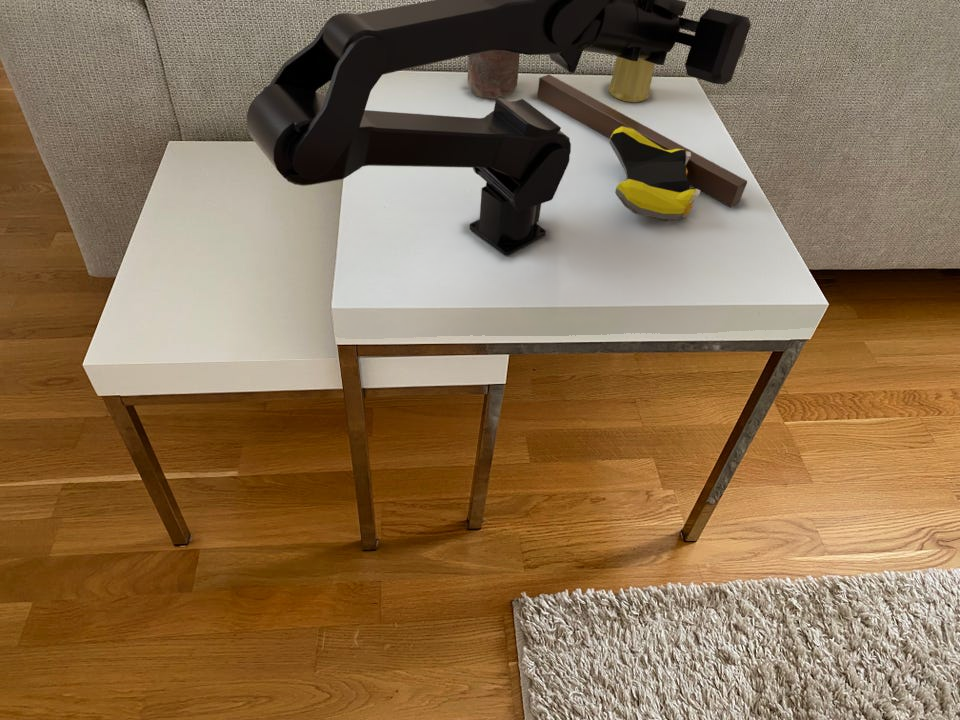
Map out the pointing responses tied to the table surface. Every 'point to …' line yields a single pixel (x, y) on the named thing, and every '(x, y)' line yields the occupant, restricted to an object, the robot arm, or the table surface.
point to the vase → (631, 80)
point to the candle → (493, 73)
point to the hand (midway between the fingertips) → (709, 40)
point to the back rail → (607, 120)
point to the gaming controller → (652, 176)
